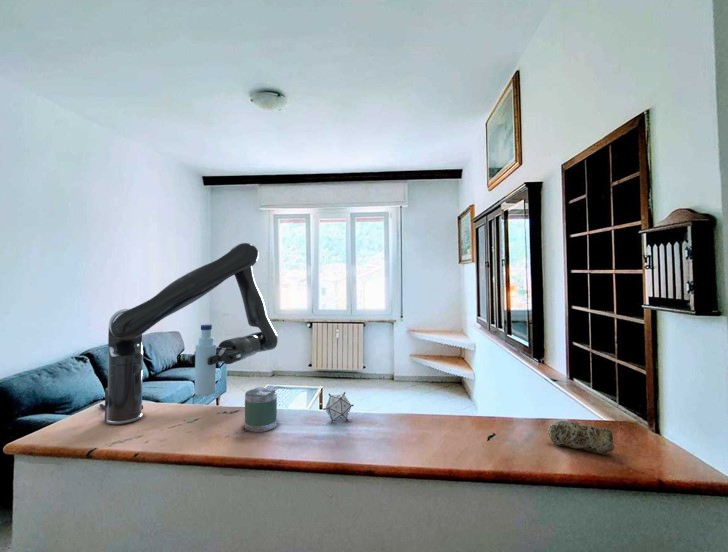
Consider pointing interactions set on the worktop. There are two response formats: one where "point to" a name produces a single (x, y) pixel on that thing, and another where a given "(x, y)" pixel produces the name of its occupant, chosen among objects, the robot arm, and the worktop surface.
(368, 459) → the worktop surface
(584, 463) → the worktop surface
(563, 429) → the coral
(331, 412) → the game die
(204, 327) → the bottle
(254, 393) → the tin
